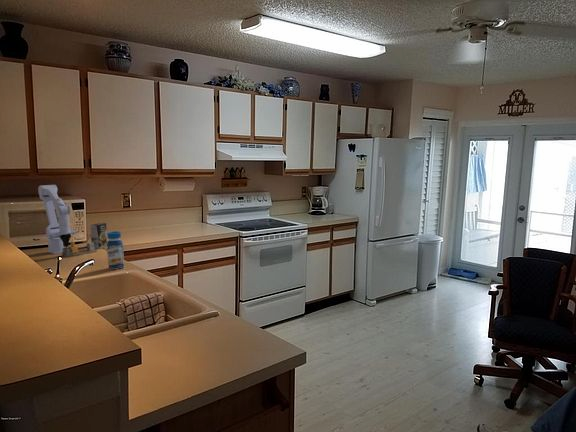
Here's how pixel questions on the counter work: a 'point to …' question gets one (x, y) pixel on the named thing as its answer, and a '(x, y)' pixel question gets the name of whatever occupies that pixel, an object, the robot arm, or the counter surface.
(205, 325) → the counter surface
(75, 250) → the marker sleeve
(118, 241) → the blue pill bottle
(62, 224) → the robot arm
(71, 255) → the cord board
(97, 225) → the coffee box
